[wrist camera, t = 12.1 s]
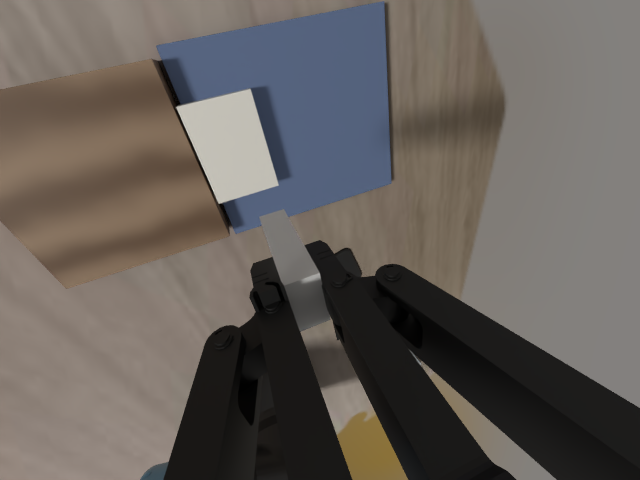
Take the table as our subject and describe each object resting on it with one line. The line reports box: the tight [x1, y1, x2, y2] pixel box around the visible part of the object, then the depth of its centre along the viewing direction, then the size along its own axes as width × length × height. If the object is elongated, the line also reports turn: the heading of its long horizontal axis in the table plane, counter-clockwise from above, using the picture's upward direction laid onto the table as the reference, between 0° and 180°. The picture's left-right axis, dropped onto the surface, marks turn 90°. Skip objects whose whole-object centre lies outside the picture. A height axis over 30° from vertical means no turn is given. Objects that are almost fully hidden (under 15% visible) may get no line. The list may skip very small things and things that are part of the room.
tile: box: [176, 88, 279, 204], centre depth 29 cm, size 10×7×2 cm
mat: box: [156, 1, 391, 234], centre depth 32 cm, size 20×22×1 cm
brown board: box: [0, 59, 230, 289], centre depth 28 cm, size 18×18×3 cm
